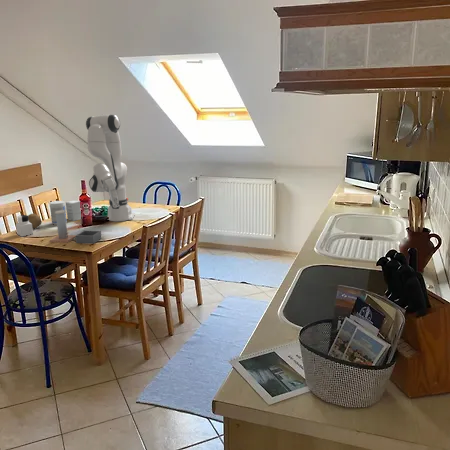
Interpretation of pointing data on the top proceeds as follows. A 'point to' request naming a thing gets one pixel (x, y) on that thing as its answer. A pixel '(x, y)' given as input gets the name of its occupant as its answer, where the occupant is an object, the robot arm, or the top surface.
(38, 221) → the natural sponge
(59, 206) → the supplement tub
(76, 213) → the supplement box
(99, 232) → the parts tub
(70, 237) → the terracotta tile
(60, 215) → the canister
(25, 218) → the medicine bottle
